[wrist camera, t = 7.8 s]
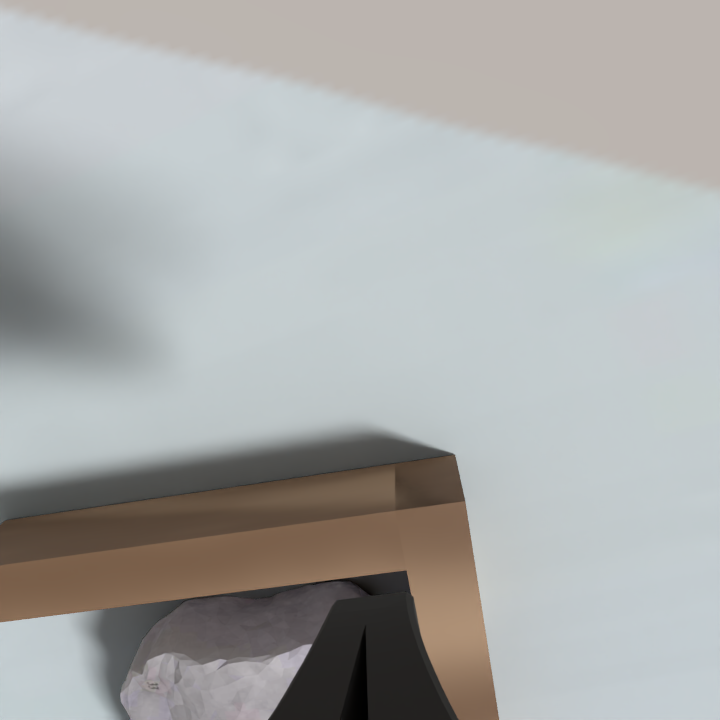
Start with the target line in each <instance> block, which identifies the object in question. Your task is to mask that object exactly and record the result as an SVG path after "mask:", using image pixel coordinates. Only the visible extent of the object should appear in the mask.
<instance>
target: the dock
mask: <svg viewBox="0 0 720 720" xmlns="http://www.w3.org/2000/svg"><path fill="white" fill-rule="evenodd" d="M405 570H407V575H408V580H409V586H410V591H411V595H412V596H413V597H414V602H415V607H416V612H417V618H418V623H419V628H420V633H421V637H422V640H423V643H424V646H425V649H426V651H427V654H428V656H429V659H430V661H431V663H432V666H433V668H434V670H435V672H436V675H437V677H438V679H439V681H440V684H441V686H442V688H443V690H444V692H445V694H446V696H447V698H448V700H449V702H450V704H451V706H452V708H453V710H454V712H455V714H456V716H457V718H458V719H459V720H499V716H498V710H497V703H496V697H495V691H494V684H493V678H492V671H491V665H490V658H489V652H488V645H487V639H486V633H485V626H484V620H483V613H482V607H481V600H480V594H479V587H478V581H477V575H476V568H475V562H474V555H473V549H472V542H471V536H470V529H469V523H468V516H467V510H466V504H465V498H464V494H463V489H462V485H461V480H460V475H459V471H458V466H457V462H456V457H455V455H450V456H443V457H437V458H430V459H423V460H416V461H409V462H402V463H395V464H389V465H382V466H375V467H368V468H361V469H354V470H347V471H341V472H334V473H327V474H320V475H313V476H306V477H300V478H293V479H286V480H279V481H272V482H265V483H258V484H252V485H245V486H238V487H231V488H224V489H217V490H210V491H204V492H197V493H190V494H183V495H176V496H169V497H163V498H156V499H149V500H142V501H135V502H128V503H121V504H115V505H108V506H101V507H94V508H87V509H80V510H73V511H67V512H60V513H53V514H46V515H39V516H32V517H25V518H19V519H12V520H5V521H4V522H3V523H2V524H1V525H0V622H6V621H14V620H22V619H30V618H38V617H45V616H53V615H61V614H69V613H77V612H84V611H92V610H100V609H108V608H116V607H124V606H131V605H139V604H147V603H155V602H163V601H170V600H178V599H186V598H194V597H202V596H210V595H217V594H225V593H233V592H241V591H249V590H256V589H264V588H272V587H280V586H288V585H295V584H303V583H311V582H319V581H327V580H335V579H342V578H350V577H358V576H366V575H374V574H381V573H389V572H397V571H405Z"/></svg>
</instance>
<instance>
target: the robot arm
mask: <svg viewBox="0 0 720 720" xmlns="http://www.w3.org/2000/svg"><path fill="white" fill-rule="evenodd" d="M268 720H459V719H458V718H457V716H456V714H455V712H454V710H453V708H452V706H451V704H450V702H449V700H448V698H447V696H446V694H445V692H444V690H443V688H442V686H441V684H440V681H439V679H438V677H437V675H436V672H435V670H434V668H433V666H432V663H431V661H430V659H429V656H428V654H427V651H426V649H425V646H424V643H423V640H422V637H421V633H420V628H419V623H418V618H417V612H416V607H415V602H414V597H413V596H412V595H410V594H409V593H407V592H398V593H390V594H382V595H374V596H366V597H358V598H350V599H342V600H336V602H335V603H334V604H333V605H332V607H331V609H330V611H329V613H328V615H327V617H326V619H325V621H324V623H323V625H322V627H321V629H320V631H319V633H318V635H317V637H316V639H315V641H314V642H313V644H312V646H311V648H310V650H309V652H308V654H307V655H306V657H305V659H304V661H303V663H302V664H301V666H300V668H299V670H298V671H297V673H296V675H295V677H294V678H293V680H292V682H291V683H290V685H289V687H288V689H287V690H286V692H285V694H284V695H283V697H282V699H281V700H280V702H279V704H278V705H277V707H276V708H275V710H274V711H273V713H272V714H271V716H270V717H269V719H268Z"/></svg>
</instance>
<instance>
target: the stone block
mask: <svg viewBox="0 0 720 720" xmlns="http://www.w3.org/2000/svg"><path fill="white" fill-rule="evenodd" d="M366 596H370V595H369V594H368V593H366V592H365V591H363V590H362V589H361V588H360V587H359V586H358V585H356V584H354V583H352V582H350V581H345V582H340V581H335V582H327V583H319V584H316V585H312V584H308V585H305V586H303V587H301V588H298V589H293V590H288V591H284V592H281V593H278V594H276V595H274V596H273V597H268V598H260V599H251V598H237V597H231V596H220V597H211V598H197V599H193V600H189V601H185V602H183V603H182V604H181V605H180V606H179V607H177V608H176V609H175V610H174V611H172V612H171V613H169V614H168V615H167V616H165V617H164V618H162V619H161V620H159V621H158V622H157V623H156V624H155V625H154V626H153V627H152V628H151V629H150V631H149V632H148V633H147V635H146V636H145V637H144V638H143V639H142V642H141V645H140V647H139V649H138V651H137V653H136V655H135V657H134V659H133V661H132V664H131V666H130V669H129V672H128V674H127V677H126V680H125V681H124V683H123V684H122V688H121V692H120V698H121V703H122V705H123V706H124V708H125V710H126V711H127V713H128V715H129V717H130V720H268V719H269V717H270V716H271V714H272V713H273V711H274V710H275V708H276V707H277V705H278V704H279V702H280V700H281V699H282V697H283V695H284V694H285V692H286V690H287V689H288V687H289V685H290V683H291V682H292V680H293V678H294V677H295V675H296V673H297V671H298V670H299V668H300V666H301V664H302V663H303V661H304V659H305V657H306V655H307V654H308V652H309V650H310V648H311V646H312V644H313V642H314V641H315V639H316V637H317V635H318V633H319V631H320V629H321V627H322V625H323V623H324V621H325V619H326V617H327V615H328V613H329V611H330V609H331V607H332V605H333V604H334V603H335V602H336V600H342V599H350V598H358V597H366Z"/></svg>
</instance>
